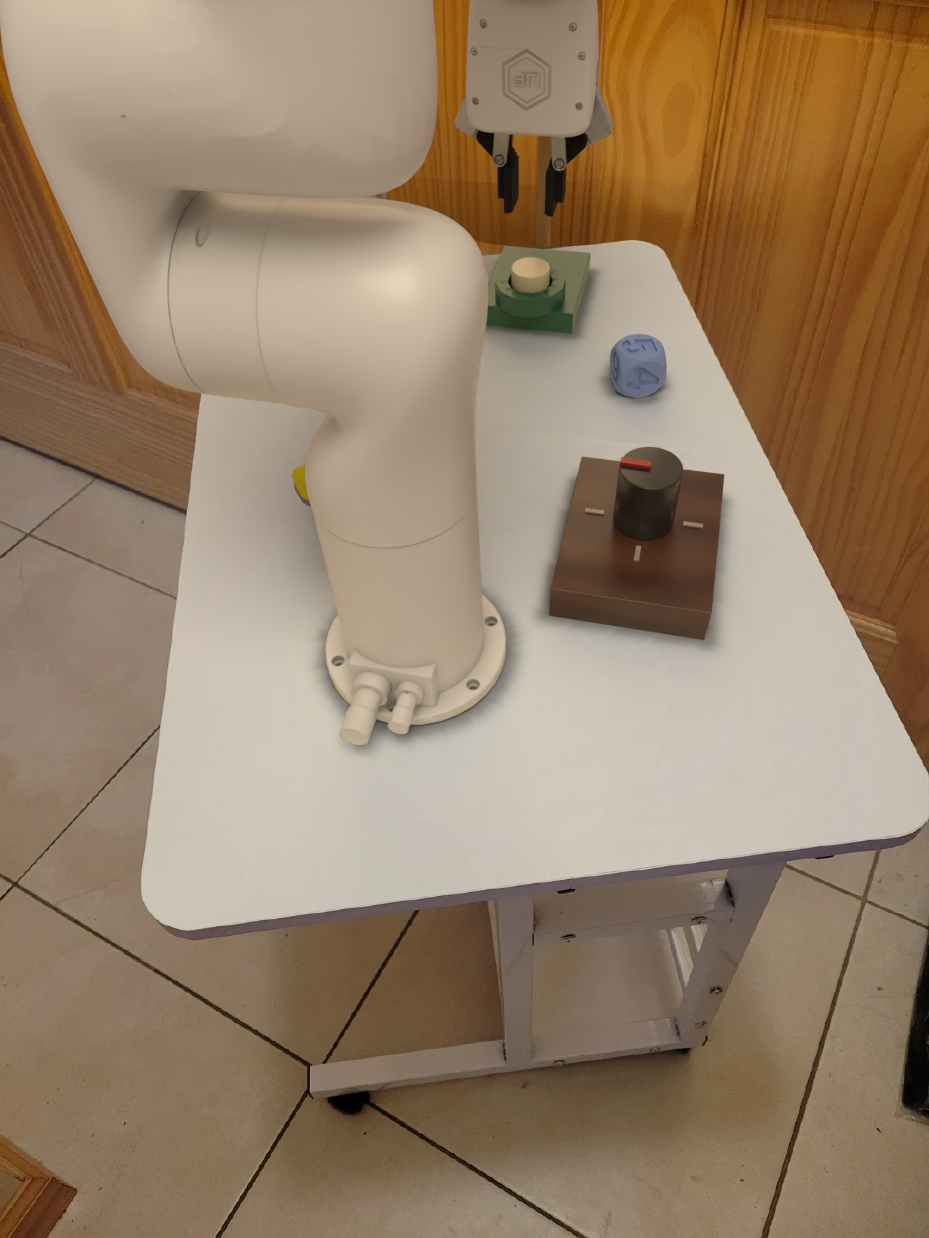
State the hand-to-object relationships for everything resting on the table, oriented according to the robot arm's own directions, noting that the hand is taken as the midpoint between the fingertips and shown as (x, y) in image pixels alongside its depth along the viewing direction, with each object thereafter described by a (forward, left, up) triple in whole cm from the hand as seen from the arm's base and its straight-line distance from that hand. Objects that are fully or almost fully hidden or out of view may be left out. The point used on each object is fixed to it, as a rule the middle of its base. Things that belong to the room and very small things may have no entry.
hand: (531, 205), depth 79 cm
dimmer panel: (-30, -14, -11) cm, 35 cm away
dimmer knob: (-28, -14, -8) cm, 33 cm away
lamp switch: (0, 0, -8) cm, 8 cm away
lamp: (+7, 0, -7) cm, 10 cm away
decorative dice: (-9, -11, -11) cm, 18 cm away
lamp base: (+3, 0, -11) cm, 12 cm away
